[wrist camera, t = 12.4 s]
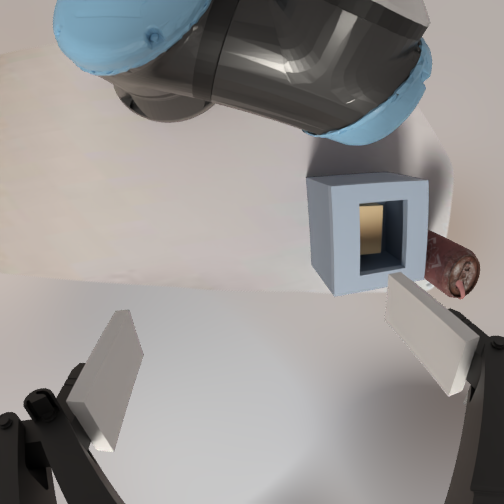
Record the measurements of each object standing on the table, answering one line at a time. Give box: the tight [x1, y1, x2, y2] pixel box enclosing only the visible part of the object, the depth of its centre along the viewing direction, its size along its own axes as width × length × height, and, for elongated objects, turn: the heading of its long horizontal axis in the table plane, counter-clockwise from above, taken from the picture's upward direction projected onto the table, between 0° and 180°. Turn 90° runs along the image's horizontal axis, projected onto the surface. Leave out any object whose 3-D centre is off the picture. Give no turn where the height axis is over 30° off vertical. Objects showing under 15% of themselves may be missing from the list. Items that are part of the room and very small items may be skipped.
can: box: [424, 230, 480, 299], centre depth 37 cm, size 6×6×14 cm
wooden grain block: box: [359, 202, 383, 255], centre depth 39 cm, size 6×4×5 cm, turn 3°
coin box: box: [306, 172, 429, 296], centre depth 37 cm, size 12×12×10 cm
